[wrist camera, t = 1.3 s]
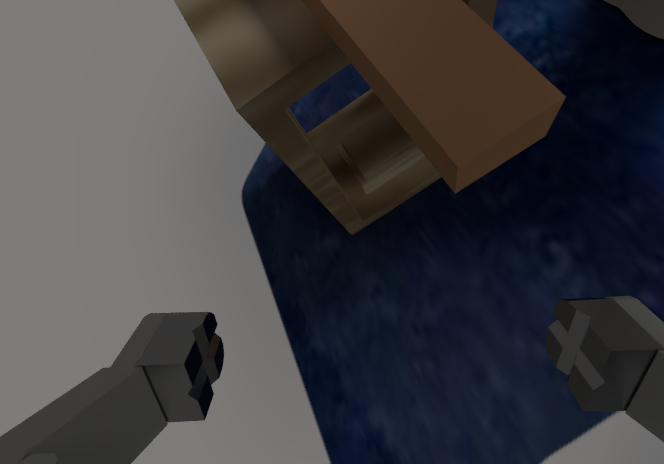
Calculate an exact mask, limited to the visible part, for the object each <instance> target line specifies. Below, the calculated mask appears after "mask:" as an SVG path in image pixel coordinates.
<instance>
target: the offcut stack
mask: <svg viewBox="0 0 664 464" xmlns="http://www.w3.org/2000/svg"><path fill="white" fill-rule="evenodd" d="M340 142H341V144H339V145H338V146H336V149H337V151H338V152H339V154H340V156H341V158H342V159H343V160H344V162H345V163H346V165H347V166H348V168H349V169H350V171H351V172H352V174H353V175H354V177H355V178H356V180H357V181H358V183H359V184H360V186H361V187H362V189H363V190H364V192H365V193H366V195H367V194H368V193H370V192H371V191H373V190H374V189H376V188H377V187H379V186H380V185H382V184H383V183H385V182H386V181H388V180H389V179H391V178H392V177H394V176H395V175H397V174H398V173H400V172H401V171H403V170H404V169H406V168H407V167H409V166H411V165H412V164H414V163H415V162H417V161H418V160H420V159H421V158H423V157H424V156H425V155H424V154H423V152H422V151H421V150H420V149H419V147H418V146H417V145H416V144H415V142H414V141H413V140H412V139H411V137H410V136H409V135H408V134H407V132H406V131H405V130H404V129H403V127H402V126H401V125H400V123H399V122H398V121H397V120H396V118H395V117H394V116H393V115H392V113H391V112H390V111H389V110H388V108H385V109H384V110H382V111H381V112H379V113H378V114H376V115H375V116H374V117H372V118H371V119H369V120H368V121H366V122H365V123H363V124H362V125H360V126H359V127H357V128H356V129H355V130H353V131H352V132H350V133H349V134H347V135H346V136H344V137H343V138H341V139H340Z"/></svg>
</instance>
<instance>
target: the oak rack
mask: <svg viewBox="0 0 664 464" xmlns="http://www.w3.org/2000/svg"><path fill="white" fill-rule="evenodd" d="M174 1H175V3H176V5H177V6H178V8H179V10H180V12H181V14H182V15H183V17H184V19H185V21H186V22H187V24H188V26H189V28H190V29H191V31H192V33H193V35H194V37H195V38H196V40H197V42H198V44H199V45H200V47H201V49H202V51H203V52H204V54H205V56H206V58H207V60H208V61H209V63H210V65H211V67H212V68H213V70H214V72H215V74H216V76H217V77H218V79H219V81H220V83H221V84H222V86H223V88H224V90H225V91H226V93H227V95H228V97H229V98H230V100H231V102H232V104H233V106H234V107H235V109H236V111H237V112H238V113H239V114H240V115H241V116H242V117H243V118H244V119H245V120H246V122H247V123H248V124H249V125H250V126H251V127H252V128H253V129H254V130H255V131H256V132H257V133H258V134H259V136H260V137H261V138H262V139H263V140H264V141H265V142H266V143H267V144H268V145H269V146H270V147H271V149H272V150H273V151H274V152H275V153H276V154H277V155H278V156H279V157H280V158H281V159H282V160H283V162H284V163H285V164H286V165H287V166H288V167H289V168H290V169H291V170H292V171H293V172H294V173H295V175H296V176H297V177H298V178H299V179H300V180H301V181H302V182H303V183H304V184H305V185H306V186H307V187H308V189H309V190H310V191H311V192H312V193H313V194H314V195H315V196H316V197H317V198H318V199H319V200H320V202H321V203H322V204H323V205H324V206H325V207H326V208H327V209H328V210H329V211H330V212H331V213H332V214H333V216H334V217H335V218H336V219H337V220H338V221H339V222H340V223H341V224H342V225H343V226H344V227H345V229H346V230H347V231H348V232H349V233H350V234H351V235H354V234H355V233H357V232H358V231H360V230H361V229H363V228H364V227H366V226H368V225H369V224H371V223H372V222H374V221H375V220H377V219H378V218H380V217H381V216H383V215H384V214H386V213H388V212H389V211H391V210H392V209H394V208H395V207H397V206H398V205H400V204H401V203H403V202H405V201H406V200H408V199H409V198H411V197H412V196H414V195H415V194H417V193H418V192H420V191H421V190H423V189H425V188H426V187H428V186H429V185H431V184H432V183H434V182H435V181H437V180H438V179H440V178H441V177H442V176H441V175H440V174H439V173H438V171H437V170H436V169H435V168H434V166H433V165H432V164H431V163H430V161H429V160H428V159H427V158H426V156H424V157H423V158H421V159H420V160H418V161H417V162H415V163H414V164H412V165H411V166H409V167H407V168H406V169H404V170H403V171H401V172H400V173H398V174H397V175H395V176H394V177H392V178H391V179H389V180H388V181H386V182H385V183H383V184H382V185H380V186H379V187H377V188H376V189H374V190H373V191H371V192H370V193H368V194H367V195H366V193H365V192H364V190H363V189H362V187H361V186H360V184H359V183H358V181H357V180H356V178H355V177H354V175H353V174H352V172H351V171H350V169H349V168H348V166H347V165H346V163H345V162H344V160H343V159H342V158H341V156H340V154H339V152H338V151H337V149H336V146H338V145H339V144H341V142H340V139H341V138H343V137H344V136H346V135H347V134H349V133H350V132H352V131H353V130H355V129H356V128H357V127H359V126H360V125H362V124H363V123H365V122H366V121H368V120H369V119H371V118H372V117H374V116H375V115H376V114H378V113H379V112H381V111H382V110H384V109H385V108H387V107H386V106H385V105H384V103H383V102H382V101H381V100H380V98H379V97H378V96H377V94H376V93H375V92H374V91H373V89H370V90H369V91H368V92H366V93H365V94H363V95H362V96H360V97H359V98H357V99H356V100H355V101H353V102H352V103H350V104H349V105H347V106H346V107H344V108H343V109H342V110H340V111H339V112H337V113H336V114H334V115H333V116H331V117H330V118H329V119H327V120H326V121H324V122H323V123H321V124H320V125H318V126H317V127H316V128H314V129H313V130H311V131H310V132H308V133H307V134H306V133H305V131H304V130H303V128H302V127H301V125H300V124H299V123H298V121H297V120H296V118H295V117H294V115H293V114H292V112H291V111H290V109H289V108H288V107H289V106H290V105H292V104H293V103H295V102H296V101H297V100H299V99H300V98H302V97H303V96H304V95H306V94H307V93H309V92H310V91H312V90H313V89H314V88H316V87H317V86H319V85H320V84H321V83H323V82H324V81H326V80H327V79H328V78H330V77H331V76H333V75H334V74H336V73H337V72H338V71H340V70H341V69H343V68H344V67H345V66H347V65H348V64H350V63H351V62H350V60H349V59H348V58H347V57H346V55H345V54H344V53H343V52H342V50H341V49H340V48H339V47H338V45H337V44H336V43H335V42H334V40H333V39H332V38H331V36H330V35H329V34H328V33H327V31H326V30H325V29H324V28H323V26H322V25H321V24H320V23H319V21H318V20H317V19H316V18H315V16H314V15H313V14H312V13H311V11H310V10H309V9H308V7H307V6H306V5H305V4H304V2H303V1H302V0H174ZM462 1H463V2H464V3H465V4H466V5H468V6H469V7H470V8H471V9H472V10H473V11H474V12H475V13H476V14H477V15H478V16H479V17H480V18H482V19H483V20H484V21H485V22H486V23H487V24H488V25H489V26H490V27H491V28H492V27H493V21H494V15H495V9H496V3H497V0H462Z"/></svg>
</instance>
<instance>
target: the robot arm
mask: <svg viewBox="0 0 664 464" xmlns="http://www.w3.org/2000/svg"><path fill="white" fill-rule="evenodd" d="M604 1H605V2H607V3H610V4H612V5H614V6H616V7H618V8H619V9H621V10H622V11H623V12H624V14H625V15H626V16H627V17H628V18H629V20H630V21H631V22H632V23H634V24H635V25H636V26H637V27H639V28H640V29H642V30H643V31H645V32H647V33H649V34H651V35H653V36H655V37H658V38H661V39H664V0H604ZM553 314H554V315H555V317H556V318H557V320H556V321H555V322H554V323H553V324H552V325H550V326H549V327H548V331H547V335H546V345H547V351H548V353H549V356H550V359H551V360H552V362H553V363H554V365H555V367H556V368H558V369H559V370H561V371H562V372H564V373H565V374H567V375H568V380H567V385H568V387H569V388H570V390H571V391H572V393H573V394H574V396H575V397H576V399H577V400H578V402H579V404H580V405H581V407H582V408H583V410H584V411H626V412H625V413H626V414H627V415H629V416H630V417H631V418H633V419H634V420H635V421H637V422H638V423H639V424H641V425H642V426H643V427H645V428H646V429H647V430H648V431H650V432H651V433H652V434H654V435H655V436H656V437H658V438H659V439H660V440H662V441H663V442H664V323H663V322H662V321H661V320H660V319H659V318H658V317H657V316H656V315H654V314H653V313H652V312H651V311H650V310H649V309H648V308H647V307H645V306H644V305H643V304H642V303H641V302H640V301H639V300H638V299H636V298H633V297H631V296H618V297H605V298H583V299H560V300H559V302H558V303H557V304H556V305H555V308H554V311H553ZM216 327H217V322H216V319H215V316H214V314H212V313H211V312H196V313H195V312H190V313H150V314H148V315H147V316H145V317H144V318H143V320H142V321H141V323H140V324H139V326H138V327H137V329H136V330H135V331H134V333H133V335H132V336H131V338H130V339H129V340H128V342H127V343H126V345H125V346H124V348H123V349H122V351H121V352H120V354H119V355H118V357H117V358H116V360H115V361H114V363H113V365H112V366H111V367H109V368H102V369H101V370H99V371H98V372H96V373H95V374H93V375H92V376H90V377H89V378H88V379H86V380H85V381H83V382H82V383H80V384H78V385H77V386H76V387H74V388H73V389H71V390H70V391H68V392H67V393H65V394H64V395H62V396H61V397H59V398H58V399H56V400H55V401H53V402H52V403H50V404H49V405H47V406H46V407H44V408H43V409H41V410H40V411H38V412H37V413H35V414H34V415H32V416H31V417H29V418H28V419H26V420H25V421H23V422H22V423H20V424H19V425H17V426H16V427H14V428H13V429H11V430H10V431H8V432H7V433H5V434H4V435H2V436H1V437H0V464H131V463H132V462H133V461H134V460H135V459H136V457H138V455H139V454H140V453H141V452H142V451H143V450H144V449H145V448H146V447H147V446H148V445H149V444H150V443H151V442H152V441H153V439H154V438H155V437H156V436H157V435H158V434H159V433H160V432H161V431H162V430H163V429H164V427H166V426H167V422H180V421H199V420H205V418H206V415H207V412H208V409H209V406H210V403H211V400H212V398H213V394H214V393H213V390H212V387H211V384H213V382H215V381H216V380H217V379H218V378H219V377H220V373H221V370H222V367H223V358H224V349H223V343H222V339H221V337H219V336H218V335H217V334H216V333H214V332H215V329H216Z"/></svg>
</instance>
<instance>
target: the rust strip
mask: <svg viewBox="0 0 664 464" xmlns="http://www.w3.org/2000/svg"><path fill="white" fill-rule="evenodd" d="M302 1H303V2H304V4H305V5H306V6H307V7H308V9H309V10H310V11H311V13H312V14H313V15H314V16H315V18H316V19H317V20H318V21H319V23H320V24H321V25H322V26H323V28H324V29H325V30H326V31H327V33H328V34H329V35H330V36H331V38H332V39H333V40H334V42H335V43H336V44H337V45H338V47H339V48H340V49H341V50H342V52H343V53H344V54H345V55H346V57H347V58H348V59H349V60H350V62H351V63H352V64H353V65H354V67H355V68H356V69H357V71H358V72H359V73H360V74H361V76H362V77H363V78H364V79H365V81H366V82H367V83H368V84H369V86H370V87H371V88H372V89H373V91H374V92H375V93H376V94H377V96H378V97H379V98H380V100H381V101H382V102H383V103H384V105H385V106H386V107H387V108H388V110H389V111H390V112H391V113H392V115H393V116H394V117H395V118H396V120H397V121H398V122H399V123H400V125H401V126H402V127H403V129H404V130H405V131H406V132H407V134H408V135H409V136H410V137H411V139H412V140H413V141H414V142H415V144H416V145H417V146H418V147H419V149H420V150H421V151H422V152H423V154H424V155H425V156H426V158H427V159H428V160H429V161H430V163H431V164H432V165H433V166H434V168H435V169H436V170H437V171H438V173H439V174H440V175H441V176H442V178H443V179H444V180H445V182H446V183H447V184H448V185H449V187H450V188H451V189H452V190H453V192H454V193H455V194H456V193H457V192H459V191H460V190H462V189H463V188H465V187H467V186H468V185H470V184H471V183H473V182H474V181H476V180H478V179H479V178H481V177H482V176H484V175H485V174H487V173H488V172H490V171H492V170H493V169H495V168H496V167H498V166H499V165H501V164H502V163H504V162H506V161H507V160H509V159H510V158H512V157H513V156H515V155H517V154H518V153H520V152H521V151H523V150H524V149H526V148H527V147H529V146H531V145H532V144H534V143H535V142H537V141H538V140H540V139H541V138H543V137H545V136H546V134H547V132H548V130H549V128H550V126H551V124H552V123H553V121H554V119H555V117H556V115H557V113H558V111H559V109H560V107H561V106H562V104H563V102H564V100H565V98H566V96H565V95H564V94H562V93H561V92H560V91H559V90H558V89H557V88H556V87H555V86H554V85H553V84H552V83H551V82H549V81H548V80H547V79H546V78H545V77H544V76H543V75H542V74H541V73H540V72H539V71H538V70H537V69H535V68H534V67H533V66H532V65H531V64H530V63H529V62H528V61H527V60H526V59H525V58H524V57H523V56H521V55H520V54H519V53H518V52H517V51H516V50H515V49H514V48H513V47H512V46H511V45H510V44H509V43H507V42H506V41H505V40H504V39H503V38H502V37H501V36H500V35H499V34H498V33H497V32H496V31H495V30H493V29H492V28H491V27H490V26H489V25H488V24H487V23H486V22H485V21H484V20H483V19H482V18H480V17H479V16H478V15H477V14H476V13H475V12H474V11H473V10H472V9H471V8H470V7H469V6H468V5H466V4H465V3H464V2H463V1H462V0H302Z"/></svg>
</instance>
